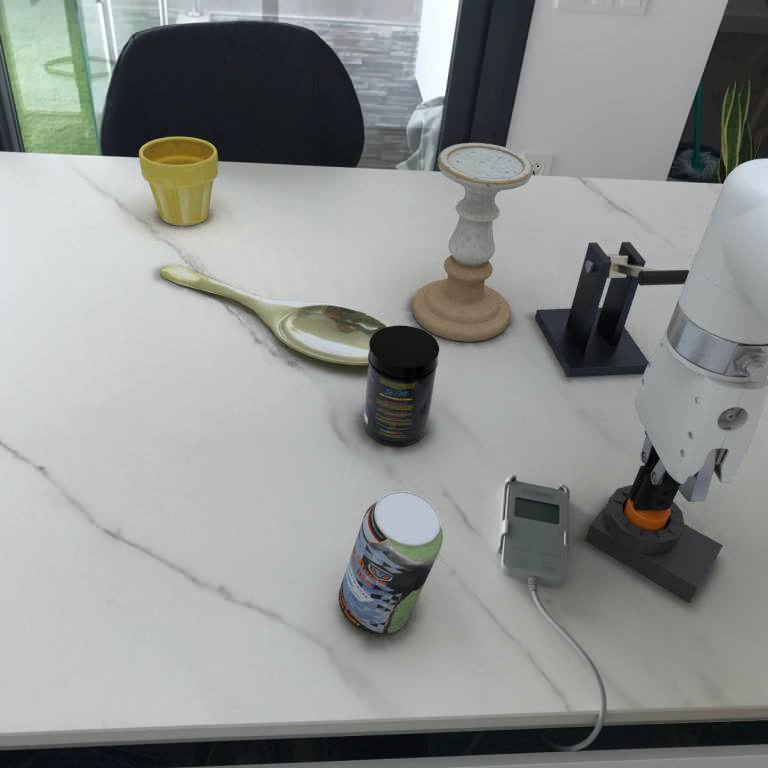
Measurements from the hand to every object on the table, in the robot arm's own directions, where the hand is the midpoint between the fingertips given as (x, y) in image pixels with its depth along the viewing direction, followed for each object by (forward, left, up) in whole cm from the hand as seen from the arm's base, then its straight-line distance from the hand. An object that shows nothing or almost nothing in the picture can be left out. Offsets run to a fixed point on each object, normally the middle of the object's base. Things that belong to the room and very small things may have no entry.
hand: (648, 503), depth 68 cm
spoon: (+48, -2, -5) cm, 49 cm away
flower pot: (+75, -11, -5) cm, 76 cm away
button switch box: (-2, 0, -5) cm, 5 cm away
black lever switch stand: (+17, -25, -5) cm, 31 cm away
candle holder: (+32, -19, -5) cm, 38 cm away
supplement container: (+25, +3, -5) cm, 26 cm away
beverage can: (+12, +21, -5) cm, 25 cm away
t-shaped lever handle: (+13, -21, +7) cm, 26 cm away
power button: (0, 0, -2) cm, 2 cm away
